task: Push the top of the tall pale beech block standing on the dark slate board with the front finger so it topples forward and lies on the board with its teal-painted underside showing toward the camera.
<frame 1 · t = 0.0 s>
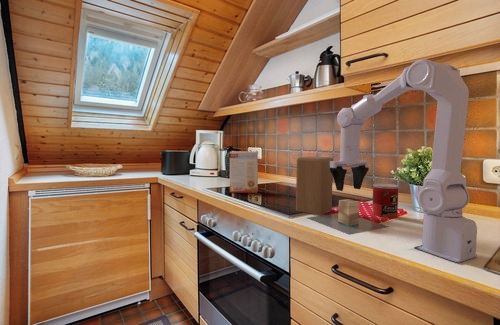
hand: (348, 189, 87), 10 cm above the table, tool pointing down, fingers open, 7 cm apart
slate board: (345, 224, 83), on the table
cracker box: (243, 192, 139), on the table
canned food: (384, 217, 92), on the table
block: (313, 213, 98), on the table
beech block: (348, 224, 81), point 1 cm above the table, touching slate board
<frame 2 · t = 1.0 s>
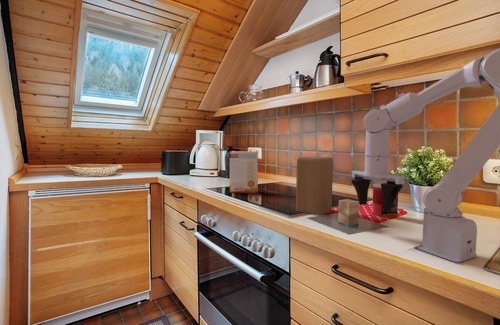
hand: (374, 207, 72), 8 cm above the table, tool pointing down, fingers open, 7 cm apart
nothing on the table moved.
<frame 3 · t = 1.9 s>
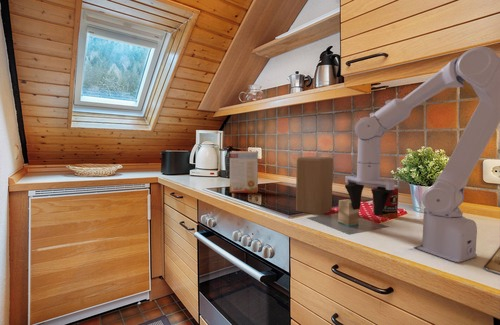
hand: (366, 212, 75), 6 cm above the table, tool pointing down, fingers open, 7 cm apart
beech block: (348, 224, 81), point 1 cm above the table, touching gripper, slate board
everything else where it was.
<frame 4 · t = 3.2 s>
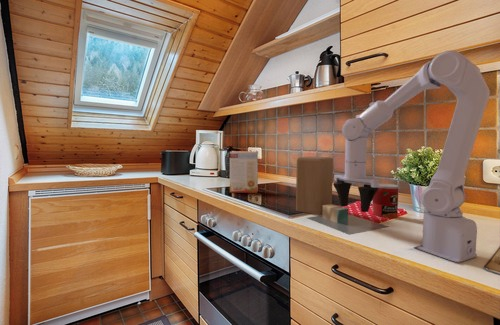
hand: (354, 208, 79), 6 cm above the table, tool pointing down, fingers open, 7 cm apart
beech block: (343, 215, 82), point 3 cm above the table, tilted 90°, touching slate board
everything else where it was.
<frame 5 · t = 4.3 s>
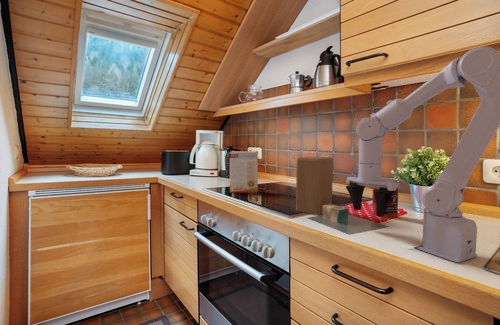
hand: (368, 212, 74), 6 cm above the table, tool pointing down, fingers open, 7 cm apart
nothing on the table moved.
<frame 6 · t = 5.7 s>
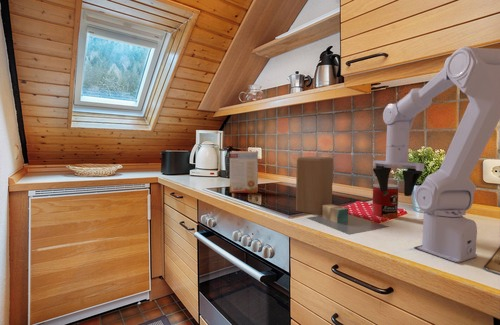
hand: (395, 193, 79), 10 cm above the table, tool pointing down, fingers open, 7 cm apart
nothing on the table moved.
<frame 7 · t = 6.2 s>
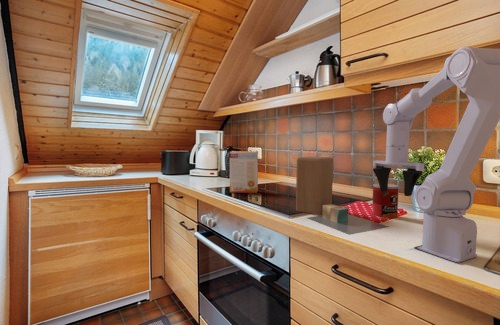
hand: (395, 193, 79), 10 cm above the table, tool pointing down, fingers open, 7 cm apart
nothing on the table moved.
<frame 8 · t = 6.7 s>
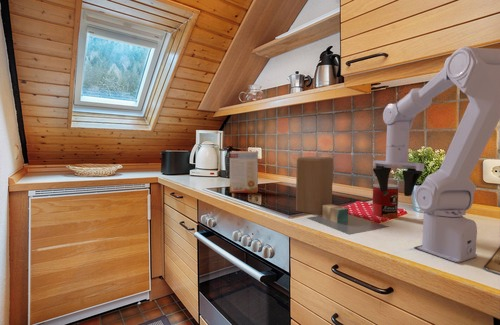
hand: (395, 193, 79), 10 cm above the table, tool pointing down, fingers open, 7 cm apart
nothing on the table moved.
at the end: beech block tilted 90°; beech block inside the target area on the slate board (2.1 cm from its centre), point 2.8 cm above the slate board's base; beech block touching slate board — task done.
